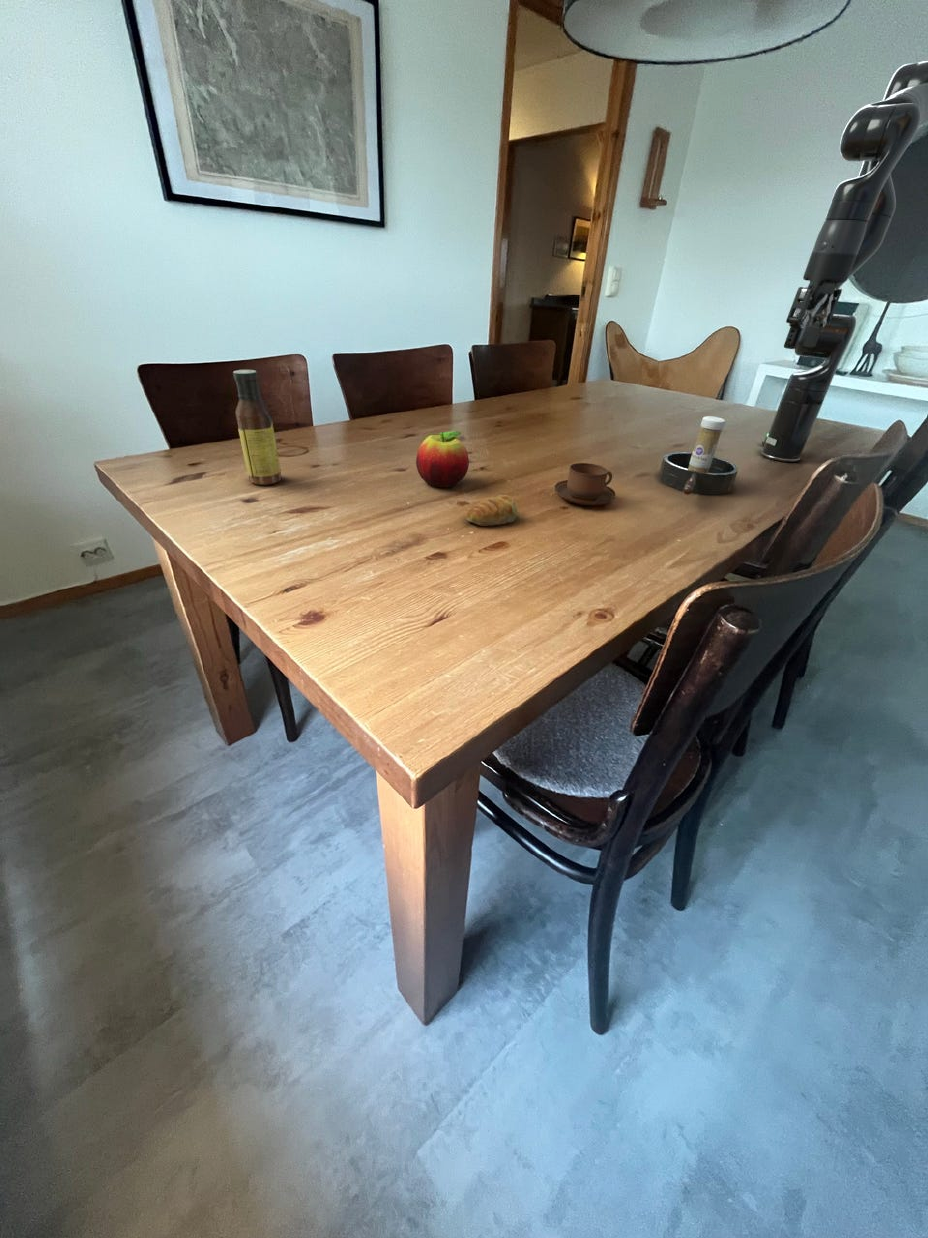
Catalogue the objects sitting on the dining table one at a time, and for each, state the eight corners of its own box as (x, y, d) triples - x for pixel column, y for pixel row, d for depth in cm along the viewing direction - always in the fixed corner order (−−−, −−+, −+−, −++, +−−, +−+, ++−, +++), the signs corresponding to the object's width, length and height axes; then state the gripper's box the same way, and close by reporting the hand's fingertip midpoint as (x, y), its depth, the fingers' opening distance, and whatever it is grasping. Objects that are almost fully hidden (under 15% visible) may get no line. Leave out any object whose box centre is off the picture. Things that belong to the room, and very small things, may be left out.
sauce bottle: (288, 479, 105) (274, 371, 94) (266, 488, 100) (248, 375, 89) (263, 473, 107) (246, 366, 96) (240, 482, 102) (219, 370, 91)
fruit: (404, 481, 108) (404, 431, 102) (441, 470, 115) (443, 423, 109) (441, 496, 102) (443, 444, 96) (478, 484, 109) (482, 435, 103)
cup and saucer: (575, 484, 112) (581, 455, 109) (624, 501, 106) (632, 471, 102) (541, 496, 105) (545, 466, 102) (591, 515, 98) (597, 483, 95)
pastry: (481, 532, 89) (483, 510, 87) (457, 518, 94) (458, 498, 91) (521, 520, 94) (523, 500, 92) (496, 508, 99) (497, 488, 97)
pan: (653, 468, 125) (658, 449, 123) (720, 474, 124) (726, 455, 122) (665, 490, 112) (671, 470, 110) (740, 498, 111) (747, 477, 109)
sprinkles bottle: (681, 479, 118) (700, 417, 110) (688, 475, 121) (707, 414, 113) (701, 485, 115) (722, 421, 108) (708, 480, 118) (728, 418, 111)
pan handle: (688, 479, 111) (691, 471, 110) (697, 481, 111) (700, 473, 110) (681, 494, 103) (683, 485, 102) (690, 496, 103) (693, 487, 102)
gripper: (839, 249, 92) (801, 352, 101) (871, 254, 100) (833, 348, 109) (797, 248, 97) (764, 346, 106) (830, 252, 104) (796, 343, 114)
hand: (799, 347), depth 108 cm, fingers open, 8 cm apart
